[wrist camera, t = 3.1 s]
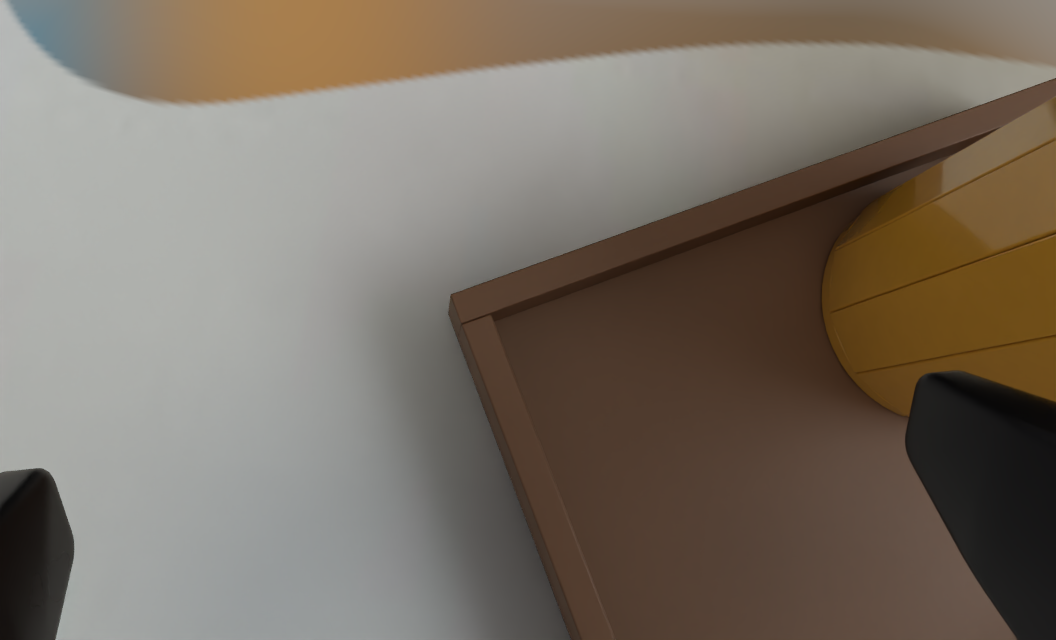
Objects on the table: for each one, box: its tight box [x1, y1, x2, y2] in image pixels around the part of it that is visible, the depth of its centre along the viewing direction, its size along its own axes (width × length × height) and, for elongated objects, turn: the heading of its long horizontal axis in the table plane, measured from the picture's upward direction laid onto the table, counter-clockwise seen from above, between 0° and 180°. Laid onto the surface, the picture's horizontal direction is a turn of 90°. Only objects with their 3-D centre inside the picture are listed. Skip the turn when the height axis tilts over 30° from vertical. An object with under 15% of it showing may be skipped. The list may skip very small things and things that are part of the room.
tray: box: [448, 78, 1056, 640], centre depth 24 cm, size 17×19×3 cm
